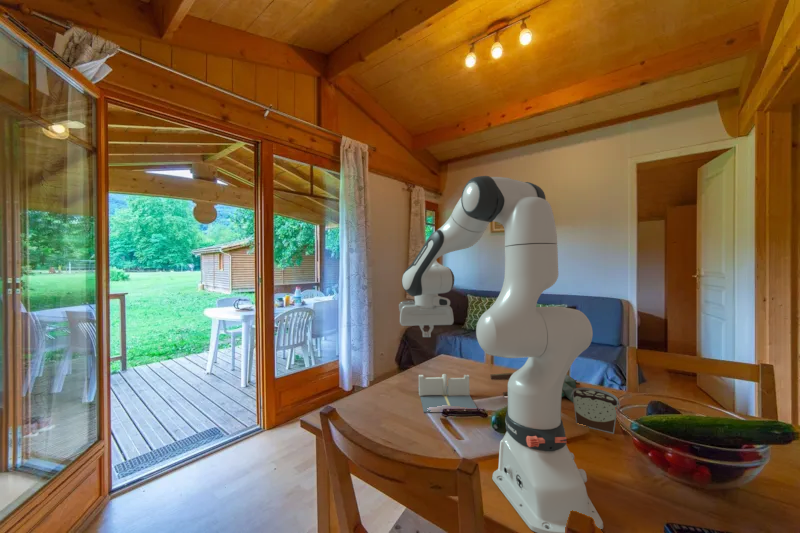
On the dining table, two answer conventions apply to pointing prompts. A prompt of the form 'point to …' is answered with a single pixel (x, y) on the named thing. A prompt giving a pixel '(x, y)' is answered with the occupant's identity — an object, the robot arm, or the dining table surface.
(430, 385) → the fence panel
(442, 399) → the card
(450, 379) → the fence fixed section
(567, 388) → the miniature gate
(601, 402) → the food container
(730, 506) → the dining table surface
